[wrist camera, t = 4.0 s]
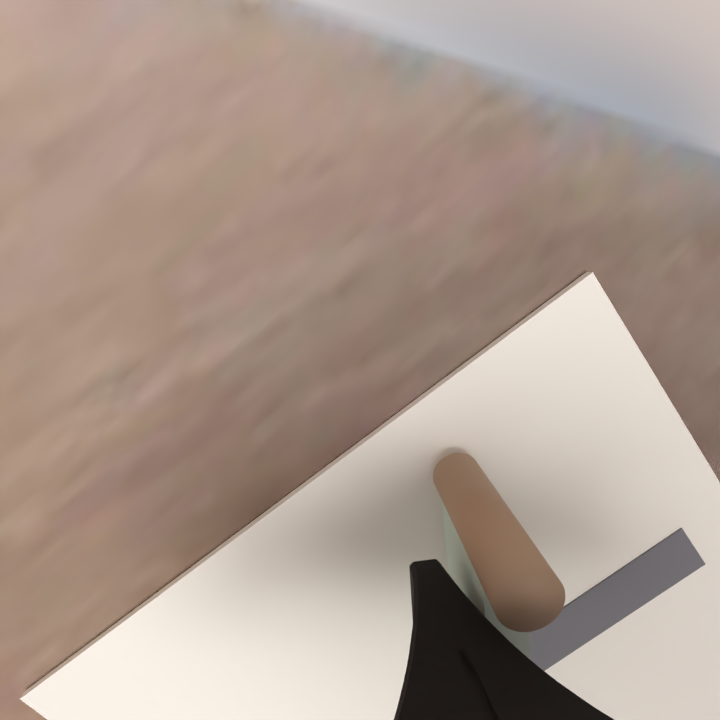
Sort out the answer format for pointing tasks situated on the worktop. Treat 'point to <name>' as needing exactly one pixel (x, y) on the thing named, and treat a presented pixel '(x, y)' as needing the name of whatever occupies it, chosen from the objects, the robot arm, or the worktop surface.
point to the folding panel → (494, 554)
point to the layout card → (427, 541)
